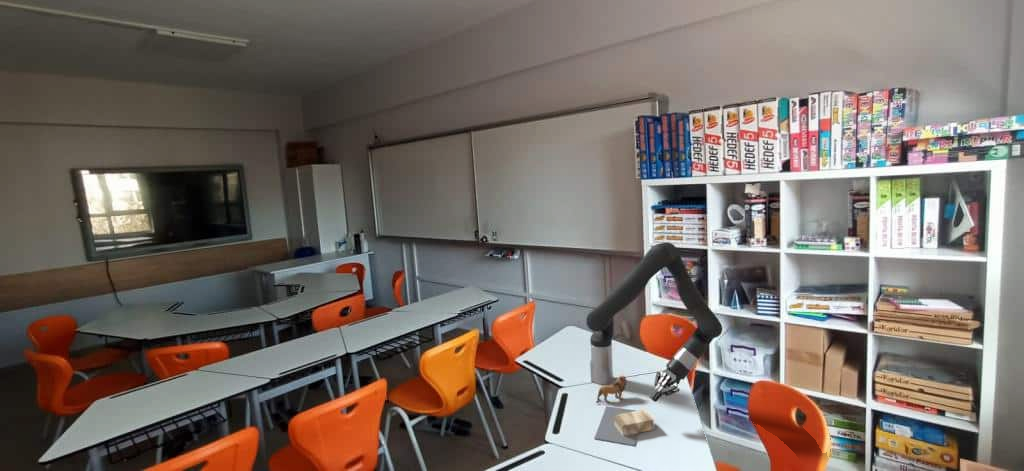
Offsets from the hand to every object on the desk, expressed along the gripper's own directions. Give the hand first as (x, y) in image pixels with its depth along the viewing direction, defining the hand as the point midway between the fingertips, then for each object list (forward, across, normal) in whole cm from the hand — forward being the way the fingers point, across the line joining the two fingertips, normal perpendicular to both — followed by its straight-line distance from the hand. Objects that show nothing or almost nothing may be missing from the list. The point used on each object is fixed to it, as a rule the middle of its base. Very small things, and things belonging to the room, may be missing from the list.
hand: (652, 399), depth 167 cm
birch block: (+6, 0, +4) cm, 8 cm away
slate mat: (+15, -4, -1) cm, 16 cm away
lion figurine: (+12, -22, +3) cm, 25 cm away
